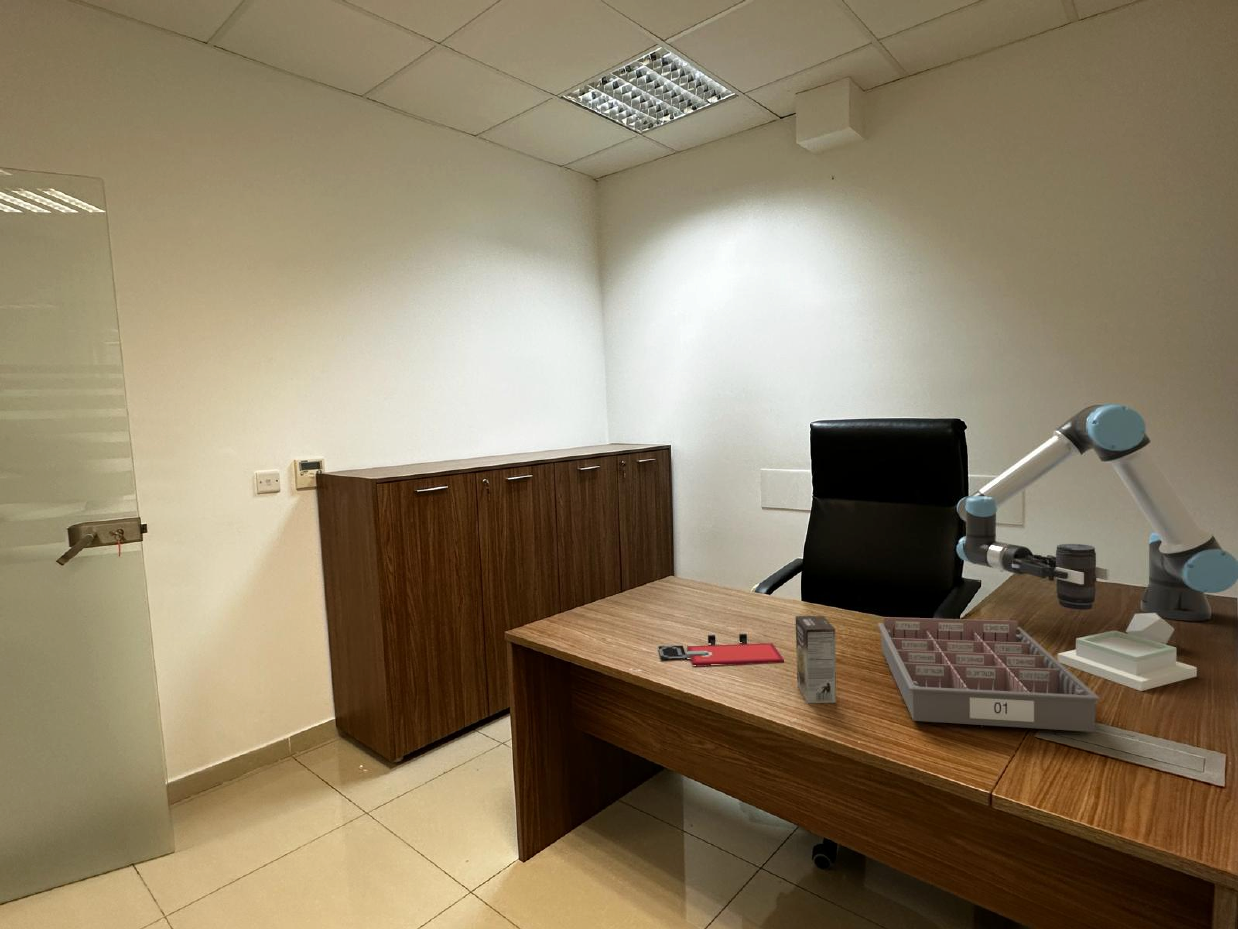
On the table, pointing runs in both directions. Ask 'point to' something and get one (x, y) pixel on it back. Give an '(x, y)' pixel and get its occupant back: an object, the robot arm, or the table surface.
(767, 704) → the table surface
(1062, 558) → the camera lens
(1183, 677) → the plinth
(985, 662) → the organizer tray
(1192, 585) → the robot arm
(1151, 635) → the white polyhedron
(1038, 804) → the table surface
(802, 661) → the coffee box
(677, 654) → the red board with handle
